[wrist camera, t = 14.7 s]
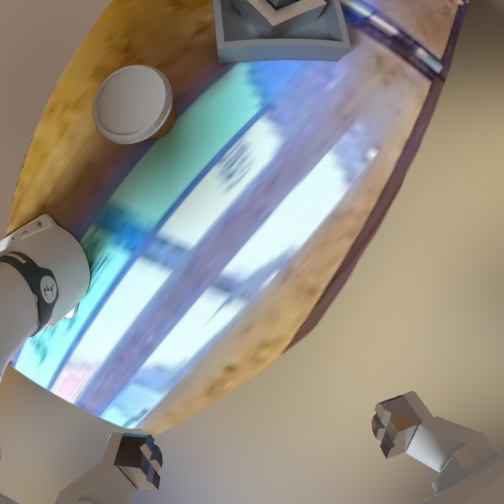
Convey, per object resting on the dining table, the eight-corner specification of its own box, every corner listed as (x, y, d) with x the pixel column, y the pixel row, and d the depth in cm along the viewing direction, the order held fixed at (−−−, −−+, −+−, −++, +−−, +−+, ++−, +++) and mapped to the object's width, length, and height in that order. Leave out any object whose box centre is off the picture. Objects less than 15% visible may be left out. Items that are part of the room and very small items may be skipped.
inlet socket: (267, 43, 33) (273, 26, 28) (230, 5, 31) (230, -15, 25) (315, 20, 32) (326, 3, 27) (278, -16, 30) (284, -36, 24)
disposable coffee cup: (139, 82, 35) (109, 55, 23) (196, 97, 36) (184, 71, 25) (115, 140, 37) (77, 132, 25) (172, 158, 38) (149, 154, 27)
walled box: (218, 64, 35) (217, 48, 29) (210, -20, 30) (209, -40, 24) (336, 61, 36) (351, 48, 30) (317, -20, 30) (326, -38, 25)
